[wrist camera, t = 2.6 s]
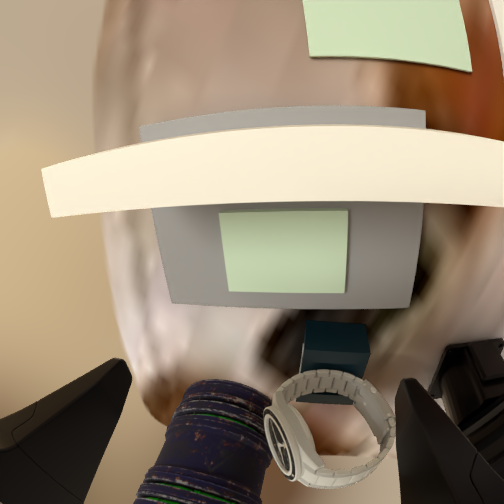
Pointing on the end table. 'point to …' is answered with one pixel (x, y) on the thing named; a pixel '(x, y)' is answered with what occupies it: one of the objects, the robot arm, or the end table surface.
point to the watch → (327, 392)
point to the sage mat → (389, 31)
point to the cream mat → (499, 24)
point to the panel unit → (286, 200)
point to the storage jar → (212, 448)
